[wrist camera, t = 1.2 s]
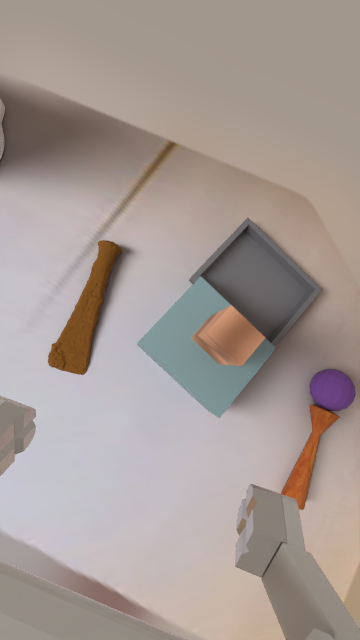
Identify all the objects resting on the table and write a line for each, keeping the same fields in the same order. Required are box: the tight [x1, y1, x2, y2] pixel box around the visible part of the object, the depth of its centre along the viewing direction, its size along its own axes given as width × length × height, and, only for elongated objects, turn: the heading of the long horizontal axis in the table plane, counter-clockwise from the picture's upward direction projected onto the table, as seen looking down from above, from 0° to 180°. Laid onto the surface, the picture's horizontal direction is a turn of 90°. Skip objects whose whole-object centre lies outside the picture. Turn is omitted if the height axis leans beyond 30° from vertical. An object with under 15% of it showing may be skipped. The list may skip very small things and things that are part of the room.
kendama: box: [281, 369, 355, 510], centre depth 43 cm, size 6×6×20 cm
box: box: [190, 218, 322, 346], centre depth 45 cm, size 16×13×2 cm
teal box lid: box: [137, 277, 276, 418], centre depth 41 cm, size 14×12×6 cm
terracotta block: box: [191, 305, 265, 366], centre depth 34 cm, size 5×4×8 cm
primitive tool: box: [48, 240, 122, 375], centre depth 41 cm, size 19×6×4 cm, turn 165°
